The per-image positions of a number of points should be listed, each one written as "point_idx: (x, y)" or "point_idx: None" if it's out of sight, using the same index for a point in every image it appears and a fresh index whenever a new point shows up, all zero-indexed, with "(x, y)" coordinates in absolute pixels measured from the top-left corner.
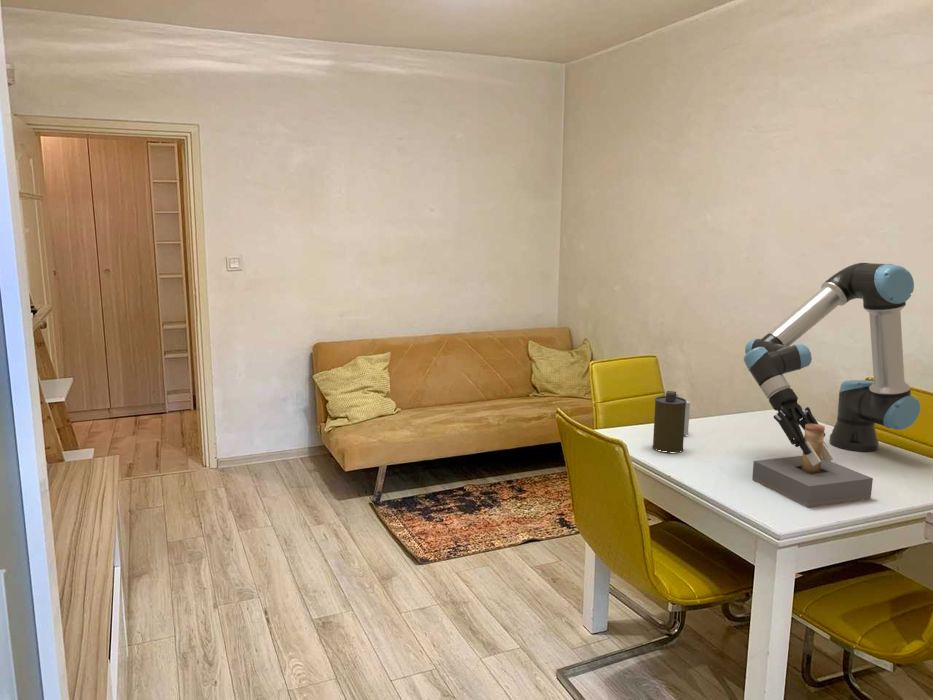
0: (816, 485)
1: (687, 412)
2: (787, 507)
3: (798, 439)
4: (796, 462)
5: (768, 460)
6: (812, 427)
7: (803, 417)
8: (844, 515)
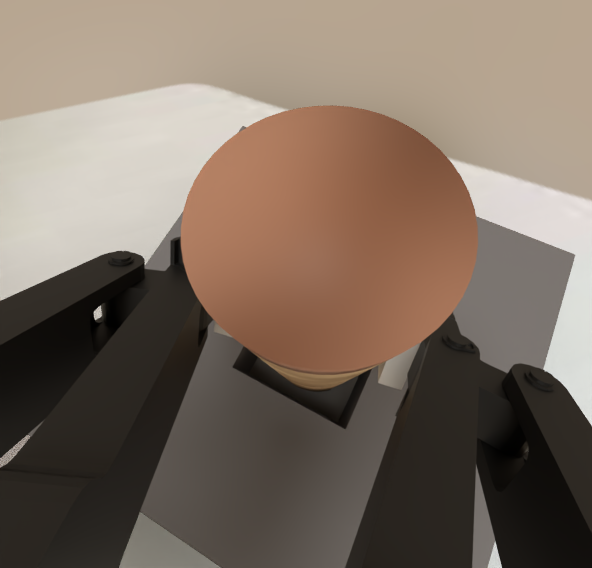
0: (530, 238)
1: None
2: (583, 338)
3: (544, 374)
4: (254, 448)
5: None
6: (453, 212)
7: (59, 549)
8: (472, 186)
